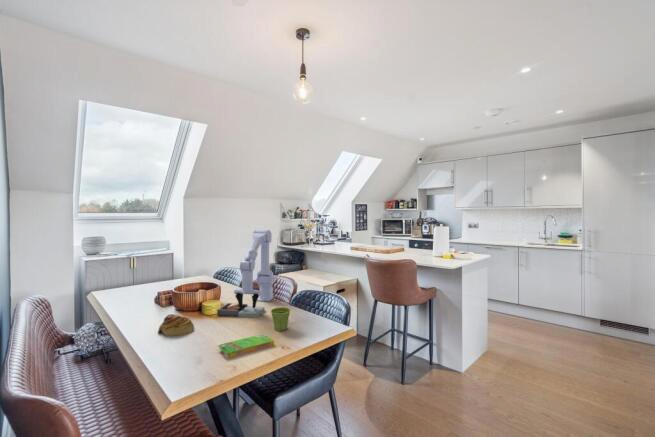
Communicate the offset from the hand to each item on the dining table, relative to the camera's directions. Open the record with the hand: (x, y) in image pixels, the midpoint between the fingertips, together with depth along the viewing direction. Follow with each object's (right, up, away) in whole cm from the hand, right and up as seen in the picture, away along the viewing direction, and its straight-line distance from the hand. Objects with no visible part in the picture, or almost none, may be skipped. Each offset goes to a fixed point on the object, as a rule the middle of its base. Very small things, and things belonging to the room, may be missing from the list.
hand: (247, 307), depth 172 cm
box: (-8, -3, 0) cm, 8 cm away
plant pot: (+22, -4, -24) cm, 32 cm away
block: (-7, -1, +1) cm, 7 cm away
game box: (+11, -5, -44) cm, 45 cm away
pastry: (-26, -4, -26) cm, 37 cm away
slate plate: (+3, -3, -2) cm, 4 cm away
